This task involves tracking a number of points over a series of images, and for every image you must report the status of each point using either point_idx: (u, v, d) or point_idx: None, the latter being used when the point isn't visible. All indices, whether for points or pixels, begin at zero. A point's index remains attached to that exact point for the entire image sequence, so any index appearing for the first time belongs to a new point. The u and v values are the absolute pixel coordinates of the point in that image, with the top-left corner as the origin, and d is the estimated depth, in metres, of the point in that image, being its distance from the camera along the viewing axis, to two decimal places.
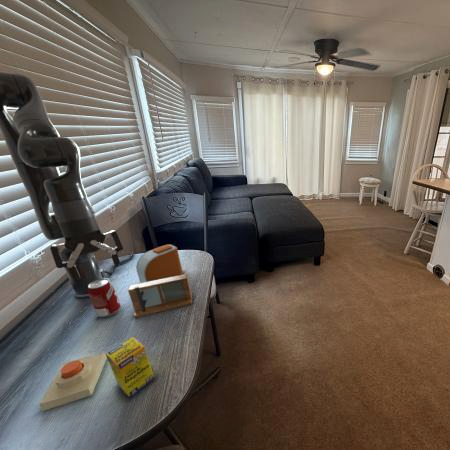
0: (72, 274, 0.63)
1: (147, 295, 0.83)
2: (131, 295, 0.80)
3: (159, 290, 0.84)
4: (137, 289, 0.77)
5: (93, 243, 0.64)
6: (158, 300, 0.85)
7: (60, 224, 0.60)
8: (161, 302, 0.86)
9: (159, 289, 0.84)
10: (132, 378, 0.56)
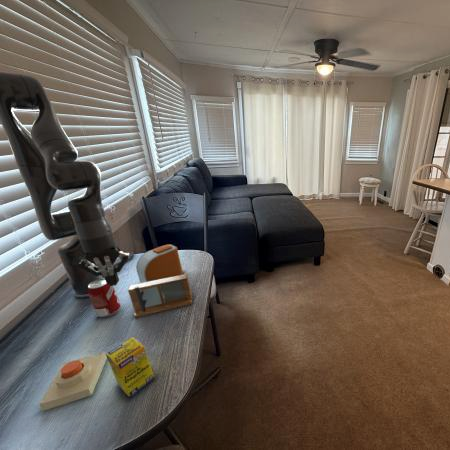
0: (107, 281, 0.73)
1: (147, 295, 0.83)
2: (131, 295, 0.80)
3: (159, 290, 0.84)
4: (137, 289, 0.77)
5: (106, 258, 0.70)
6: (158, 300, 0.85)
7: (79, 240, 0.66)
8: (161, 302, 0.86)
9: (159, 289, 0.84)
10: (132, 378, 0.56)
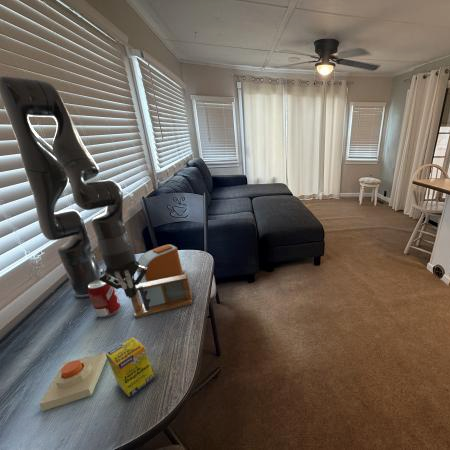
0: (126, 293, 0.76)
1: (150, 294, 0.83)
2: None
3: (163, 289, 0.84)
4: (141, 288, 0.77)
5: (126, 272, 0.73)
6: (161, 299, 0.85)
7: (102, 255, 0.69)
8: (164, 301, 0.86)
9: (163, 288, 0.84)
10: (132, 378, 0.56)
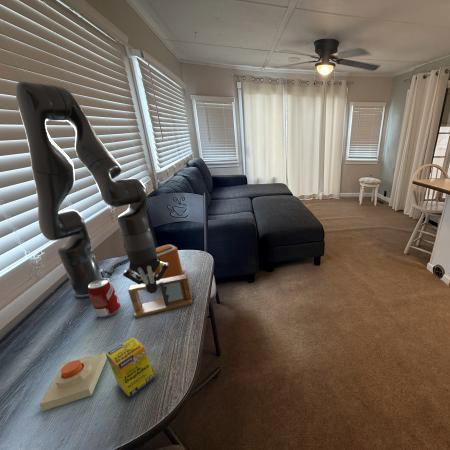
0: (147, 289, 0.78)
1: (169, 290, 0.85)
2: (131, 295, 0.80)
3: (181, 285, 0.86)
4: (161, 284, 0.79)
5: (149, 268, 0.75)
6: (179, 295, 0.87)
7: (126, 251, 0.71)
8: (182, 297, 0.88)
9: (181, 284, 0.86)
10: (132, 378, 0.56)
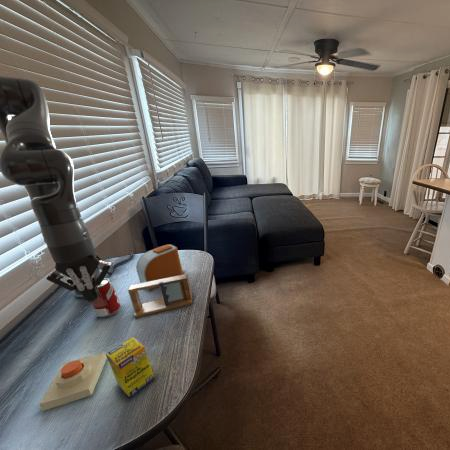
0: (84, 296, 0.60)
1: (169, 290, 0.85)
2: (131, 295, 0.80)
3: (181, 285, 0.86)
4: (161, 284, 0.79)
5: (83, 269, 0.57)
6: (179, 295, 0.87)
7: None
8: (182, 297, 0.88)
9: (181, 284, 0.86)
10: (132, 378, 0.56)
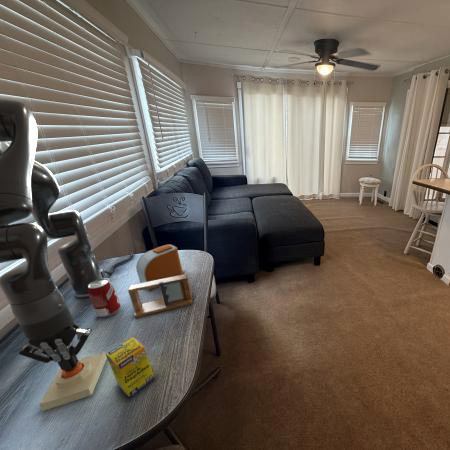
0: (61, 366, 0.57)
1: (169, 290, 0.85)
2: (131, 295, 0.80)
3: (181, 285, 0.86)
4: (161, 284, 0.79)
5: (58, 342, 0.54)
6: (179, 295, 0.87)
7: None
8: (182, 297, 0.88)
9: (181, 284, 0.86)
10: (132, 378, 0.56)
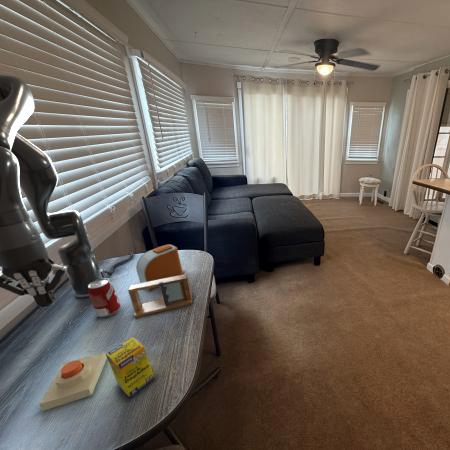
0: (37, 301, 0.57)
1: (169, 290, 0.85)
2: (131, 295, 0.80)
3: (181, 285, 0.86)
4: (161, 284, 0.79)
5: (32, 274, 0.54)
6: (179, 295, 0.87)
7: None
8: (182, 297, 0.88)
9: (181, 284, 0.86)
10: (132, 378, 0.56)
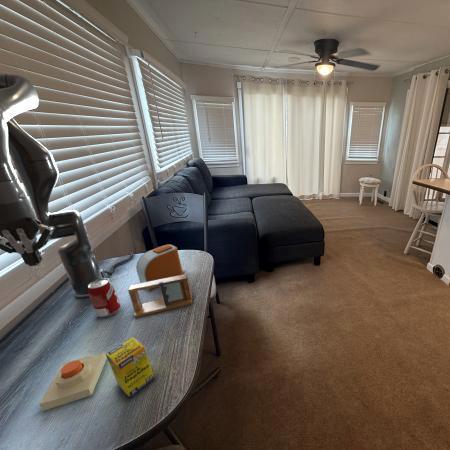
0: (25, 260, 0.60)
1: (169, 290, 0.85)
2: (131, 295, 0.80)
3: (181, 285, 0.86)
4: (161, 284, 0.79)
5: (20, 231, 0.57)
6: (179, 295, 0.87)
7: None
8: (182, 297, 0.88)
9: (181, 284, 0.86)
10: (132, 378, 0.56)
